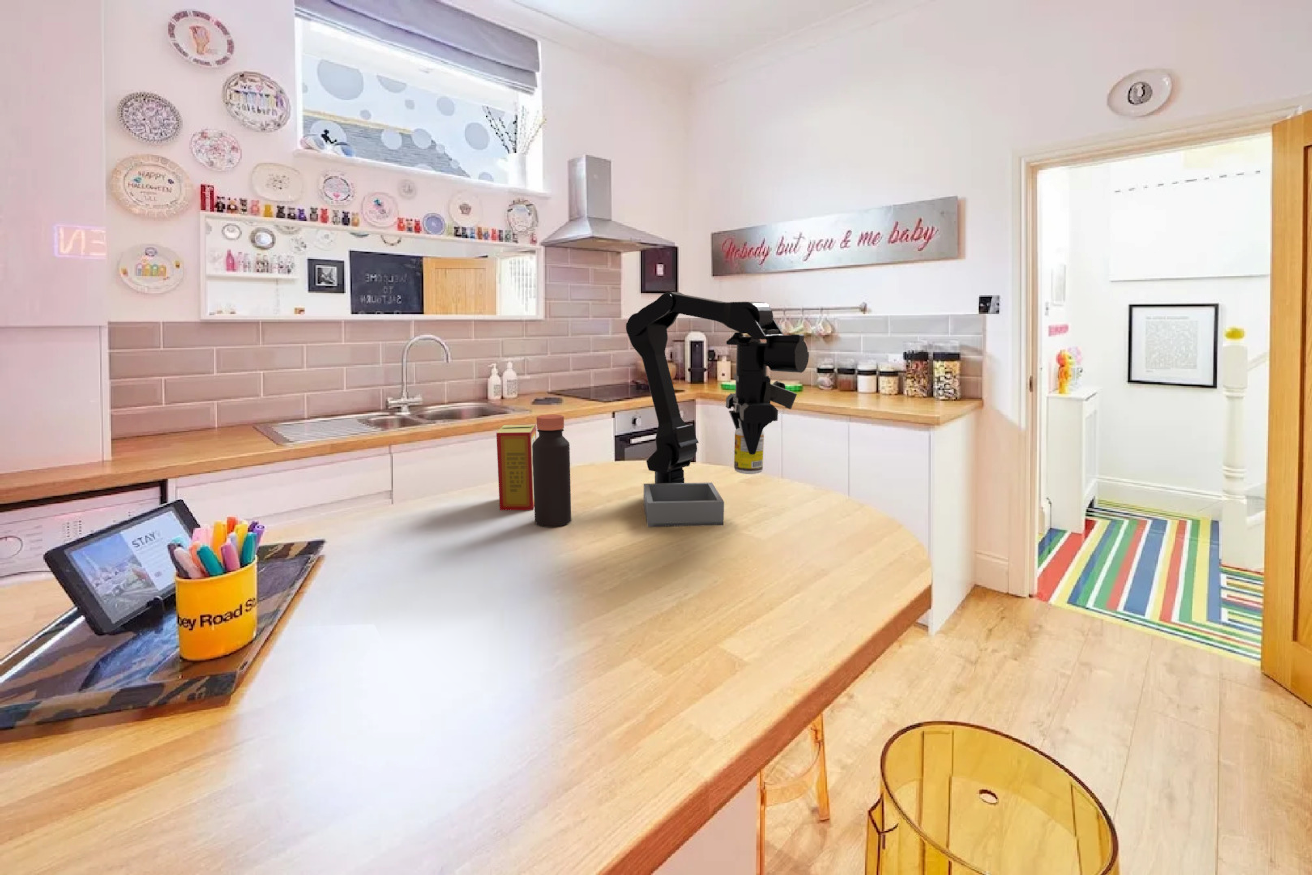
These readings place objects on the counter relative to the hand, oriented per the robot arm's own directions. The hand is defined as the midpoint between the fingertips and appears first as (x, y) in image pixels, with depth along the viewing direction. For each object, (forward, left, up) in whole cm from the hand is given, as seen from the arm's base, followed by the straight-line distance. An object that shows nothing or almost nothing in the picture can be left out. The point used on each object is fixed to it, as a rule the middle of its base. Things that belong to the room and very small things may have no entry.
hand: (748, 451), depth 126 cm
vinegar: (-16, -34, -13) cm, 40 cm away
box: (-6, -11, -12) cm, 18 cm away
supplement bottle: (0, 0, -4) cm, 4 cm away
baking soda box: (-31, -34, -13) cm, 48 cm away
